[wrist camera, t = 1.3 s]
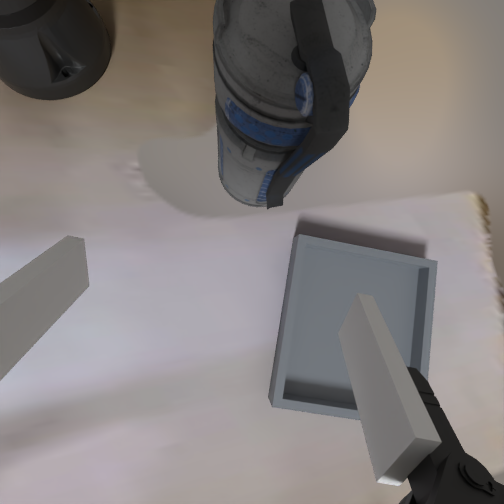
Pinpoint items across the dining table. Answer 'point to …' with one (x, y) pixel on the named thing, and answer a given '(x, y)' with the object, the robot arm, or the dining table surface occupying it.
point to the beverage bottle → (284, 88)
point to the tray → (334, 313)
